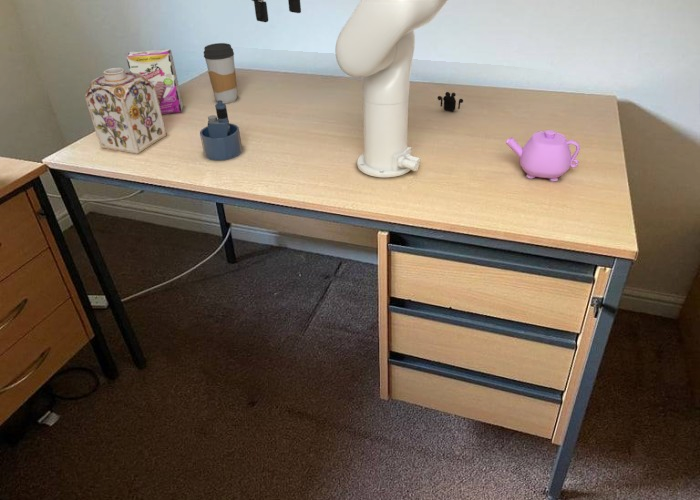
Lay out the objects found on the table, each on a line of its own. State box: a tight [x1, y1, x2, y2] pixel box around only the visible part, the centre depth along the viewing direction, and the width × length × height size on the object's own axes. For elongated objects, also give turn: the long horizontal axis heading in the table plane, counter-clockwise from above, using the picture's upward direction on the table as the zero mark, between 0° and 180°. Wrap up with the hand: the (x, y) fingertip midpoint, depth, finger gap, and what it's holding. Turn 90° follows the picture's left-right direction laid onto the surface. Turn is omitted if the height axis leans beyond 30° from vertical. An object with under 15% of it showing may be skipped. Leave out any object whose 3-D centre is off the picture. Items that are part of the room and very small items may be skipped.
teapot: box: [505, 129, 581, 182], centre depth 113 cm, size 10×15×9 cm
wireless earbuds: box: [437, 91, 464, 112], centre depth 143 cm, size 7×2×5 cm, turn 64°
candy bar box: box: [125, 48, 184, 115], centre depth 147 cm, size 11×5×16 cm, turn 100°
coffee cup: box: [203, 42, 238, 104], centre depth 154 cm, size 8×8×15 cm
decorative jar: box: [84, 67, 167, 154], centre depth 131 cm, size 12×12×18 cm
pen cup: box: [199, 122, 243, 162], centre depth 127 cm, size 9×9×6 cm
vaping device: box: [207, 100, 231, 138], centre depth 125 cm, size 3×5×12 cm, turn 78°
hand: (279, 16), depth 118 cm, fingers open, 9 cm apart
